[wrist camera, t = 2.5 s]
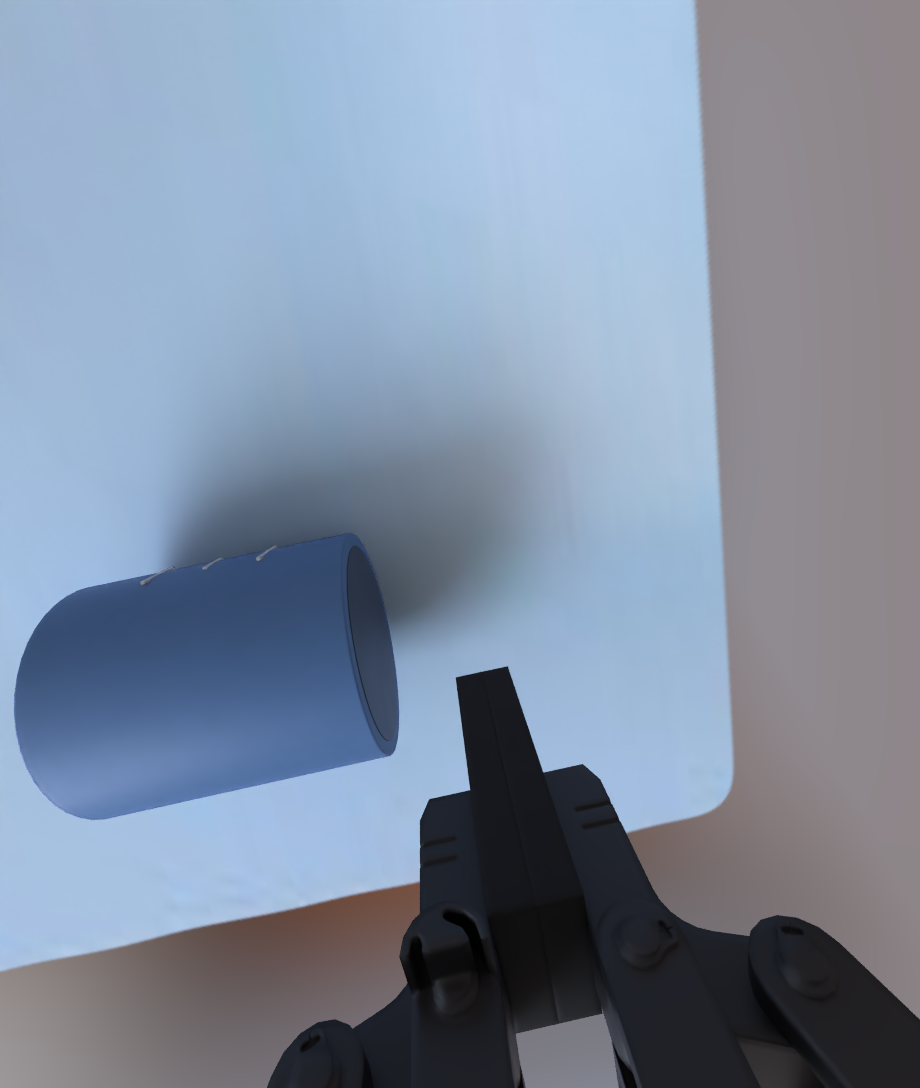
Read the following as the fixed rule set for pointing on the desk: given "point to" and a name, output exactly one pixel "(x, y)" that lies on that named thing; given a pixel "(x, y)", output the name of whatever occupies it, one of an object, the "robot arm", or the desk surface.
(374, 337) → the desk surface
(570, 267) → the desk surface
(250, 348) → the desk surface
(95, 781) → the measuring cup
